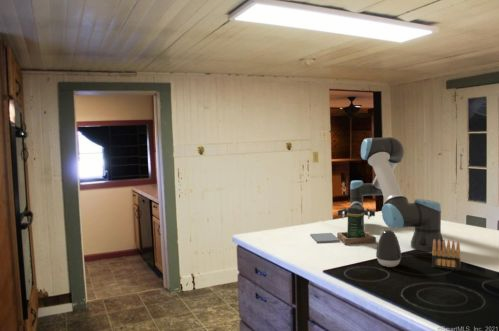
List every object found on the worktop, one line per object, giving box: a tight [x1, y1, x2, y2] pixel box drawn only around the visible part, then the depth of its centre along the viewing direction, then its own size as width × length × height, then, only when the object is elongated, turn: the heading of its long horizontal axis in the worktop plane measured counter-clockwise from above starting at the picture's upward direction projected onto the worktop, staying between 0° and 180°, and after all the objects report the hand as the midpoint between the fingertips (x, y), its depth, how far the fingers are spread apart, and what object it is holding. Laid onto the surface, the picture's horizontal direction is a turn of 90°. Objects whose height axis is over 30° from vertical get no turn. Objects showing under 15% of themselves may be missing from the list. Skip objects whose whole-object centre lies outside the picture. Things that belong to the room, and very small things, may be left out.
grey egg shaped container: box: [375, 229, 402, 268], centre depth 176 cm, size 10×10×15 cm
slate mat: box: [310, 232, 341, 244], centre depth 223 cm, size 16×12×1 cm
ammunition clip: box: [431, 239, 462, 269], centre depth 169 cm, size 11×2×12 cm, turn 59°
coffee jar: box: [346, 205, 365, 238], centre depth 216 cm, size 10×8×19 cm
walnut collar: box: [336, 230, 377, 246], centre depth 217 cm, size 14×16×3 cm
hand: (355, 216), depth 225 cm, fingers open, 13 cm apart
